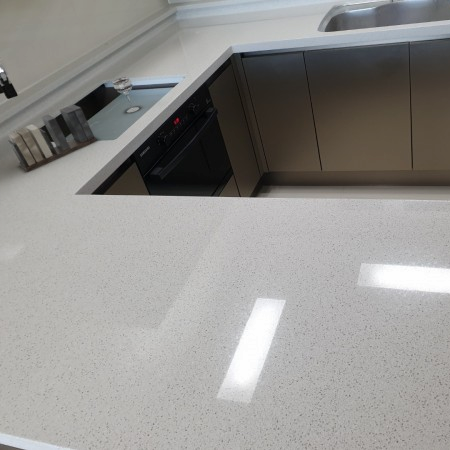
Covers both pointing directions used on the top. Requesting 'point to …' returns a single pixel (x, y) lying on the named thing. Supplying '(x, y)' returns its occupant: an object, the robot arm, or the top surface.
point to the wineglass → (124, 89)
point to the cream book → (39, 141)
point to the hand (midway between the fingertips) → (8, 94)
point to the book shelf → (30, 152)
